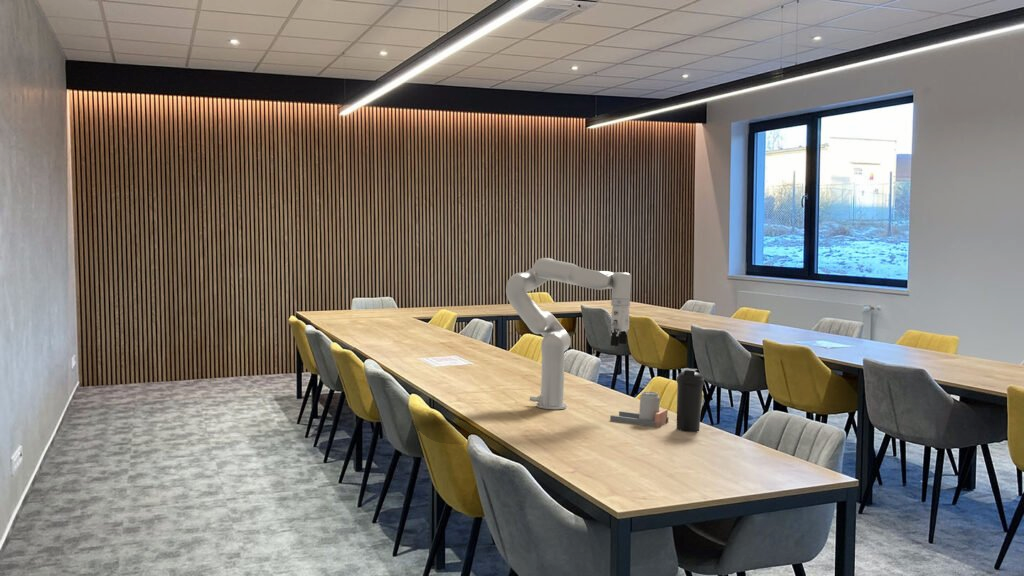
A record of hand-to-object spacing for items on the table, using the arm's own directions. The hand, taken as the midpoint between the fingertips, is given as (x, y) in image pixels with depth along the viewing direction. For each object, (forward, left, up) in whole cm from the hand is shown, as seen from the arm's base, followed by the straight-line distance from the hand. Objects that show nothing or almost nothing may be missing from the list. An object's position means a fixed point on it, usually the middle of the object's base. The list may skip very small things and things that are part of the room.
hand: (618, 344), depth 348 cm
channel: (+8, -14, -28) cm, 33 cm away
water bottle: (+25, -25, -28) cm, 45 cm away
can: (+12, -16, -28) cm, 34 cm away
